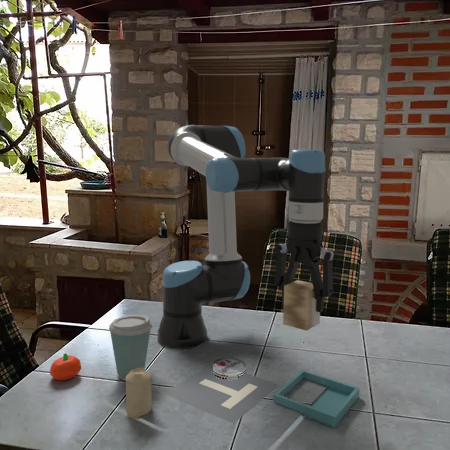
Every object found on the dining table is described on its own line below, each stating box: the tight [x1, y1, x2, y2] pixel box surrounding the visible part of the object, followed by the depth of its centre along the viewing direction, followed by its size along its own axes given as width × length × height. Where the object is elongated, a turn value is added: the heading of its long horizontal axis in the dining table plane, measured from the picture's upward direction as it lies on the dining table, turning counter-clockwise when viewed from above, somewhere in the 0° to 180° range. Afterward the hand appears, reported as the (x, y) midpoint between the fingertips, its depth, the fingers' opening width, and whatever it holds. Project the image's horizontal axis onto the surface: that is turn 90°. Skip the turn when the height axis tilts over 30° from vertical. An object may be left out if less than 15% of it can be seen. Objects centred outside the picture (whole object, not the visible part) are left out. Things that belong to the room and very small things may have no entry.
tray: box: [272, 369, 361, 429], centre depth 109 cm, size 15×15×2 cm
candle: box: [125, 368, 153, 420], centre depth 103 cm, size 6×6×10 cm
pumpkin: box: [49, 352, 82, 381], centre depth 118 cm, size 7×8×6 cm
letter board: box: [163, 361, 280, 424], centre depth 113 cm, size 20×20×1 cm
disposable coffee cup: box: [108, 314, 153, 381], centre depth 119 cm, size 11×11×15 cm
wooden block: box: [282, 279, 315, 332], centre depth 105 cm, size 6×6×9 cm
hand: (301, 321), depth 106 cm, fingers closed on wooden block, 6 cm apart
